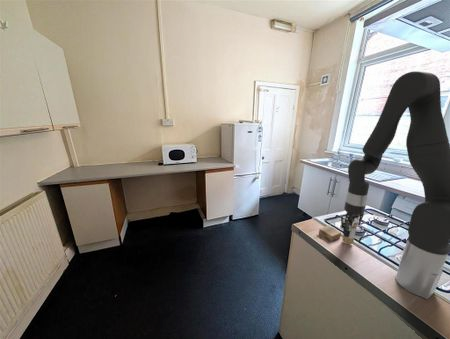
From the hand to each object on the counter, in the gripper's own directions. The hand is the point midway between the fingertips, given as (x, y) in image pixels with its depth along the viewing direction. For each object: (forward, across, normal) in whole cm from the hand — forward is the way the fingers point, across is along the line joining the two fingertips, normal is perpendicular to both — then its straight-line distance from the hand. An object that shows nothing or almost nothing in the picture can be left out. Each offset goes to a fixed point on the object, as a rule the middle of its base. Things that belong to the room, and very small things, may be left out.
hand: (349, 234), depth 85 cm
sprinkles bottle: (+4, 0, 0) cm, 4 cm away
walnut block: (+5, -2, +8) cm, 10 cm away
